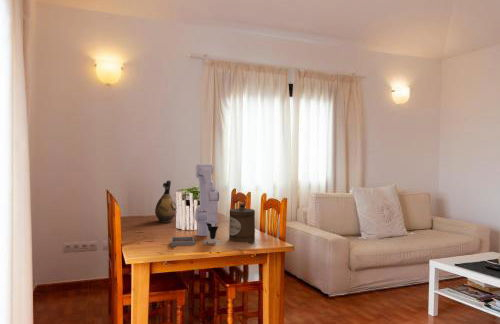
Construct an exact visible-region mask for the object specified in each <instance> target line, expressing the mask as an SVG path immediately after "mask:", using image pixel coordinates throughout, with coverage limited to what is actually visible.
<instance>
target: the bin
mask: <svg viewBox="0 0 500 324" xmlns="http://www.w3.org/2000/svg"><path fill="white" fill-rule="evenodd" d="M170 238H171V241H170V244H171V245H170V247H171V248H172V249H174V248H173V247H175V248H176V246H195V239H194V236H177V237H176V236H175V237H174V236H173V237H172V236H171V237H170Z"/></svg>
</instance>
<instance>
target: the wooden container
mask: <svg viewBox="0 0 500 324" xmlns="http://www.w3.org/2000/svg"><path fill="white" fill-rule="evenodd" d="M255 215H256V211H255V209H253V208H246V204H245V203H244V202H243V203H240V204H239V207H238V208H231V209H229V226H228V227H229V228H228V229H229V230H228V231H229V232H228V234H229V237H228V239H229V241H231V242H236V243H248V244H253V243H255V242H256V241H255V240H256V220H255V219H256V218H255Z"/></svg>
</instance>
